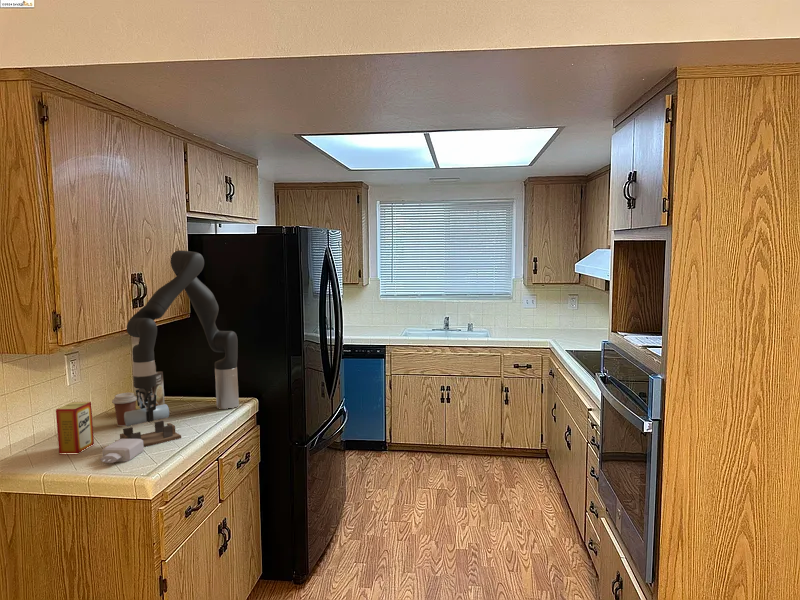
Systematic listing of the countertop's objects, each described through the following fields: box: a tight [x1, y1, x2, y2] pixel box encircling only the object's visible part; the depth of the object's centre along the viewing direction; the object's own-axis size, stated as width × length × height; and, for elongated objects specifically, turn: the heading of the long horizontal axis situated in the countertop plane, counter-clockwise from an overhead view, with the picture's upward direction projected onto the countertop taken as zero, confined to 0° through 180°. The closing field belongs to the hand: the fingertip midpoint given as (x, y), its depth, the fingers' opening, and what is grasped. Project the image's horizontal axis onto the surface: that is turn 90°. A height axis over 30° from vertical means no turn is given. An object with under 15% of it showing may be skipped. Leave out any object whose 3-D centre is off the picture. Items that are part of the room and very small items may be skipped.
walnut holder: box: [114, 419, 182, 448], centre depth 206 cm, size 12×19×5 cm, turn 133°
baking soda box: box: [55, 401, 95, 454], centre depth 198 cm, size 10×6×16 cm
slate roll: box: [124, 403, 170, 427], centre depth 206 cm, size 14×5×5 cm, turn 133°
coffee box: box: [150, 371, 166, 407], centre depth 246 cm, size 9×6×16 cm
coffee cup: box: [111, 392, 137, 427], centre depth 226 cm, size 9×9×12 cm
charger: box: [99, 438, 145, 464], centre depth 188 cm, size 5×9×15 cm
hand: (147, 419), depth 206 cm, fingers closed on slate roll, 5 cm apart
